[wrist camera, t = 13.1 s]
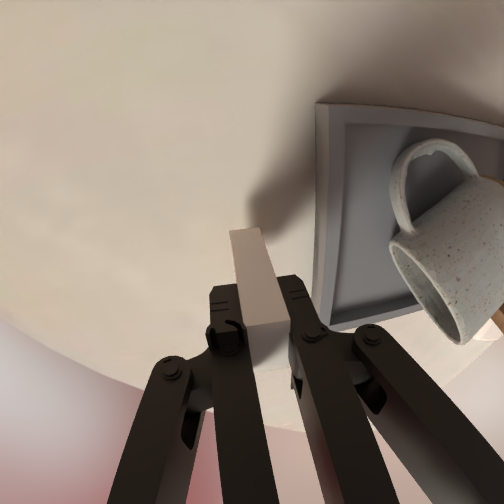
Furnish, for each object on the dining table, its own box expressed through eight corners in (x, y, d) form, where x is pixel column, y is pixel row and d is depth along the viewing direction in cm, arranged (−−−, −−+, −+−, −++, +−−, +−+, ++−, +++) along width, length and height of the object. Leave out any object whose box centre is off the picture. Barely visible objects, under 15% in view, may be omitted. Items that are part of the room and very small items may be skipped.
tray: (314, 103, 13) (328, 105, 12) (508, 127, 14) (524, 134, 13) (309, 318, 21) (317, 336, 19) (472, 278, 22) (483, 289, 21)
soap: (458, 330, 27) (470, 347, 25) (491, 284, 24) (506, 300, 22) (486, 332, 30) (497, 346, 27) (514, 293, 27) (526, 306, 24)
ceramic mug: (480, 227, 18) (545, 283, 11) (408, 291, 20) (462, 366, 13) (443, 107, 13) (547, 141, 6) (345, 184, 15) (432, 262, 8)
